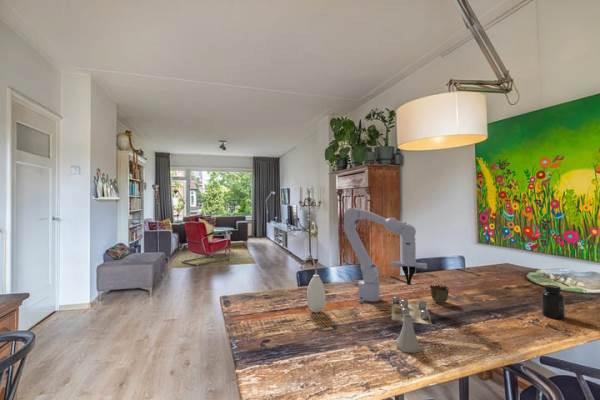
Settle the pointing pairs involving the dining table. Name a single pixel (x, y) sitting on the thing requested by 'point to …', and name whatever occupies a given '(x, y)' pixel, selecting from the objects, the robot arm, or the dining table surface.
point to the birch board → (412, 311)
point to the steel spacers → (406, 310)
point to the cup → (439, 293)
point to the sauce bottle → (316, 294)
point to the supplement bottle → (553, 302)
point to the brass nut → (397, 308)
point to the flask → (408, 336)
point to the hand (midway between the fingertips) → (408, 283)
